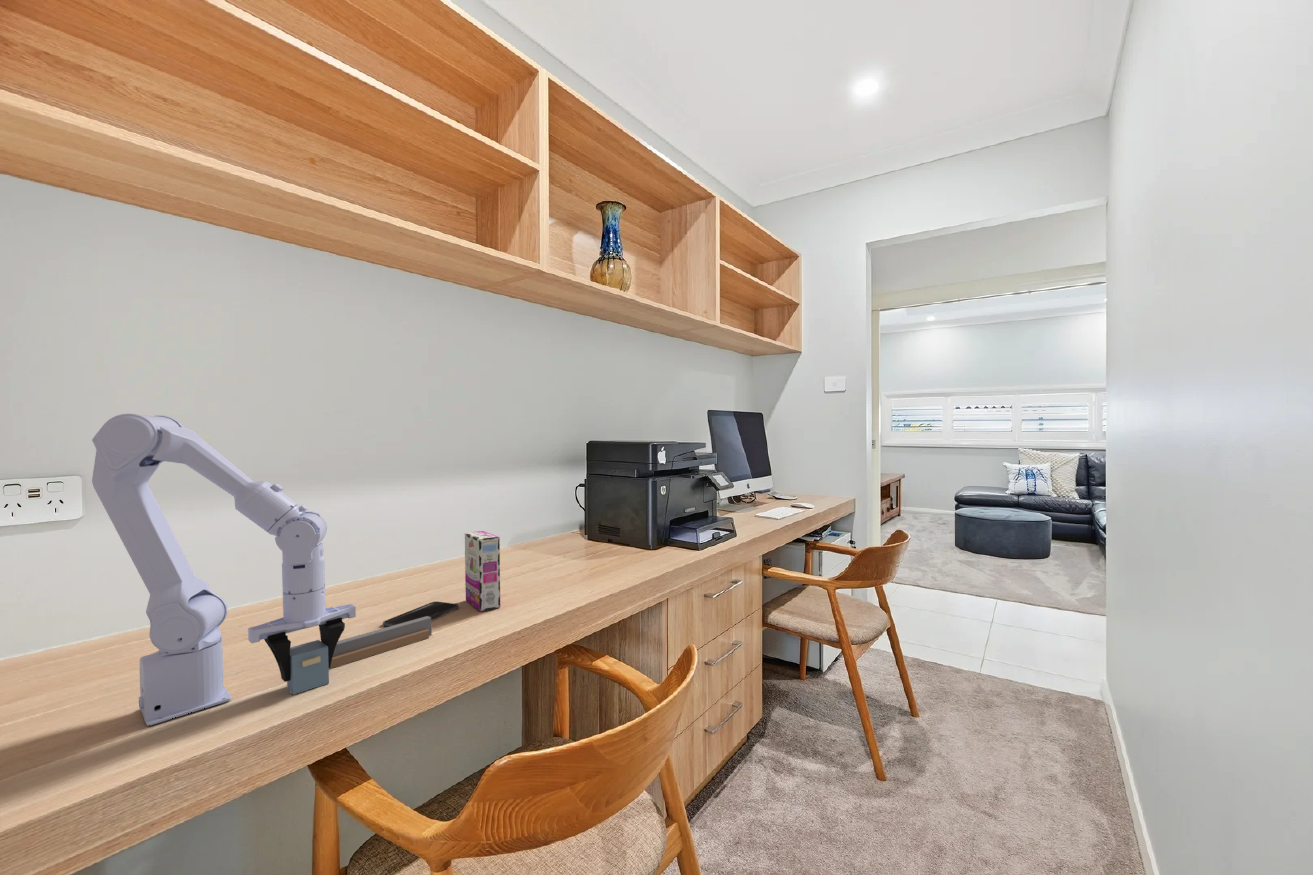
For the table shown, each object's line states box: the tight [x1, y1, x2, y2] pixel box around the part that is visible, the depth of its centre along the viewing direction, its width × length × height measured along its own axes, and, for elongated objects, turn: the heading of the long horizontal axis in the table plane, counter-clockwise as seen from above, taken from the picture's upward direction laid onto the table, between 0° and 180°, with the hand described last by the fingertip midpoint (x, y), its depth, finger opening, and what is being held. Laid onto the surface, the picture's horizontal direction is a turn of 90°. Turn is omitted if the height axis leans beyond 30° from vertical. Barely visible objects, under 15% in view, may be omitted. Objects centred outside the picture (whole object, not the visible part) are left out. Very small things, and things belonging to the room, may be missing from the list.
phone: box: [382, 601, 459, 628], centre depth 118 cm, size 8×1×15 cm
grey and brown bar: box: [329, 616, 433, 670], centre depth 99 cm, size 20×3×4 cm, turn 139°
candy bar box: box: [464, 530, 501, 612], centre depth 126 cm, size 11×5×16 cm, turn 37°
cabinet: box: [286, 639, 330, 696], centre depth 86 cm, size 5×5×6 cm
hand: (306, 673), depth 86 cm, fingers closed on cabinet, 5 cm apart
